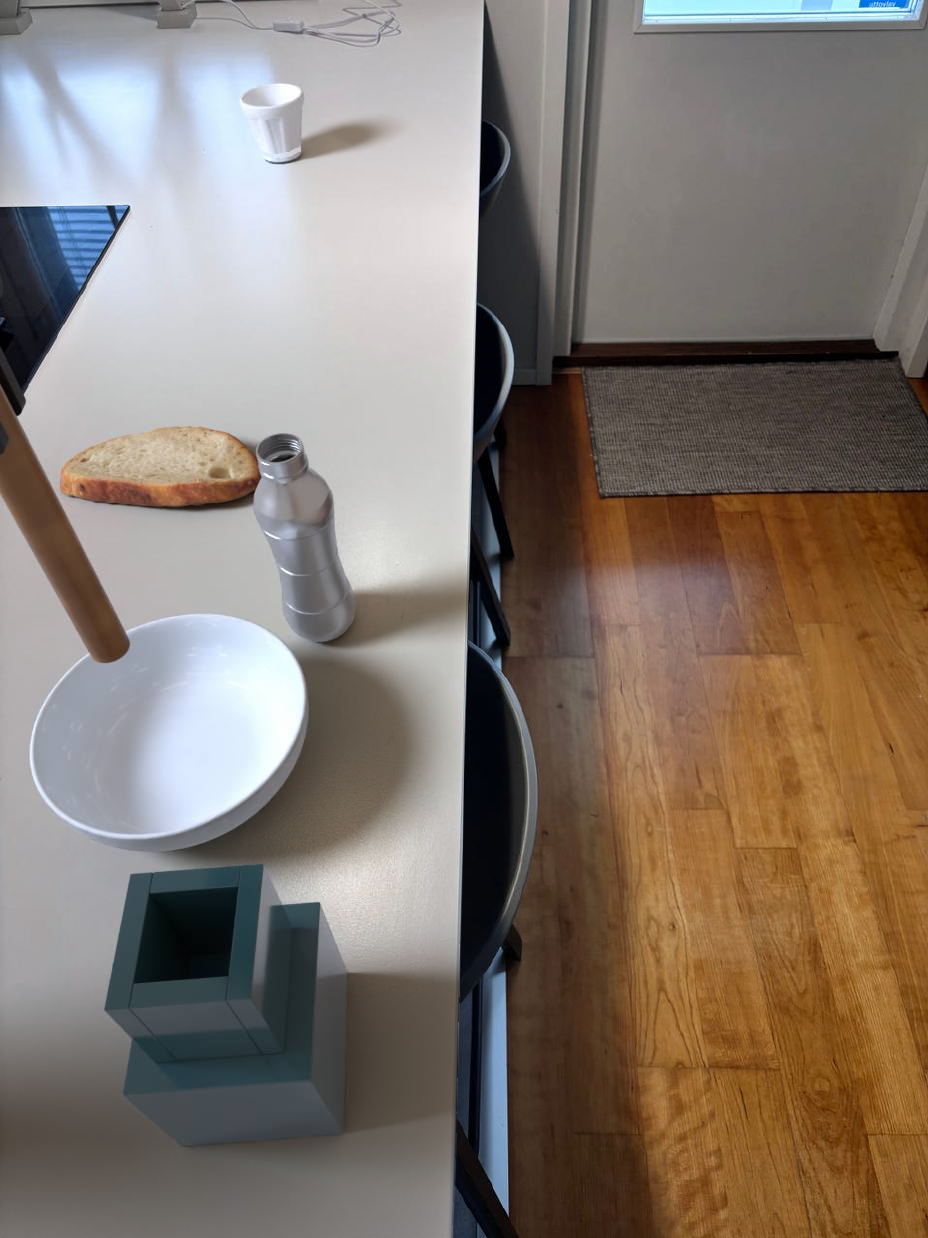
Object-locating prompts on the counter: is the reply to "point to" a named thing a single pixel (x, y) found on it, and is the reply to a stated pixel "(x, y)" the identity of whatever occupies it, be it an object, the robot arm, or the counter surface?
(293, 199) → the counter surface
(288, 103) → the cup
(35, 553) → the stick
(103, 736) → the serving bowl
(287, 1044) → the utensil holder
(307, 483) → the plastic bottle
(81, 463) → the bread slice
